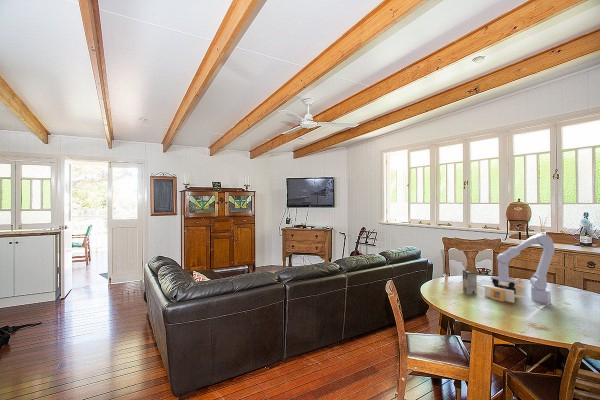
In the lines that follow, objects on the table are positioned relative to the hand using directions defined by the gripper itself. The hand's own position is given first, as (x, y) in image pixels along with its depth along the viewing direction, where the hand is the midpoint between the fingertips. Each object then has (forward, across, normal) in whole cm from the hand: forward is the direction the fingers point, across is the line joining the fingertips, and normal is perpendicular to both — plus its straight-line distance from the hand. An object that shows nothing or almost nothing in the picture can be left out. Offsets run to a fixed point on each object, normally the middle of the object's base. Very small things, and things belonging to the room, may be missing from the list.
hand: (503, 292), depth 192 cm
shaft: (+1, 0, -4) cm, 4 cm away
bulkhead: (+4, 0, -8) cm, 9 cm away
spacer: (+3, 0, -10) cm, 11 cm away
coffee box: (+5, -18, -8) cm, 20 cm away
